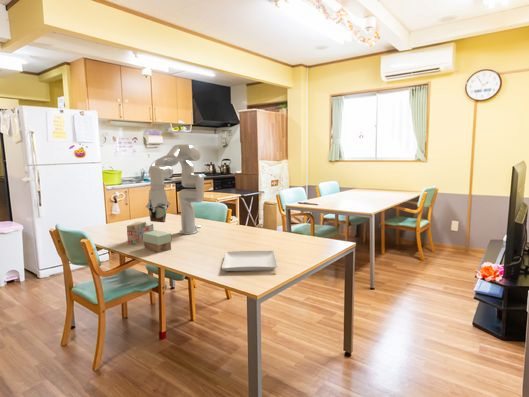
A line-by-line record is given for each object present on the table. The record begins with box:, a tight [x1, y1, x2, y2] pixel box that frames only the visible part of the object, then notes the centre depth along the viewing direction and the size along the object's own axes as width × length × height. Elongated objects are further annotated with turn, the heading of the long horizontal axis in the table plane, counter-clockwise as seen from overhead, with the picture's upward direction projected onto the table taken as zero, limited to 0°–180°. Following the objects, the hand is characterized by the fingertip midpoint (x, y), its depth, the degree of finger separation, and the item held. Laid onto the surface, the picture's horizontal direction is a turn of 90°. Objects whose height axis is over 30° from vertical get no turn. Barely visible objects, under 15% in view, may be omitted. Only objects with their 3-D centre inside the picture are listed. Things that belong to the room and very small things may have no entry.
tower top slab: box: [143, 229, 172, 245], centre depth 203 cm, size 9×15×5 cm, turn 53°
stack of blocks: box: [126, 221, 155, 245], centre depth 224 cm, size 21×6×12 cm, turn 168°
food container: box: [148, 204, 168, 223], centre depth 202 cm, size 12×6×10 cm, turn 69°
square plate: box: [221, 250, 278, 272], centre depth 175 cm, size 27×27×4 cm
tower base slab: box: [143, 241, 172, 254], centre depth 204 cm, size 9×15×5 cm, turn 48°
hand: (159, 217), depth 201 cm, fingers closed on food container, 6 cm apart
